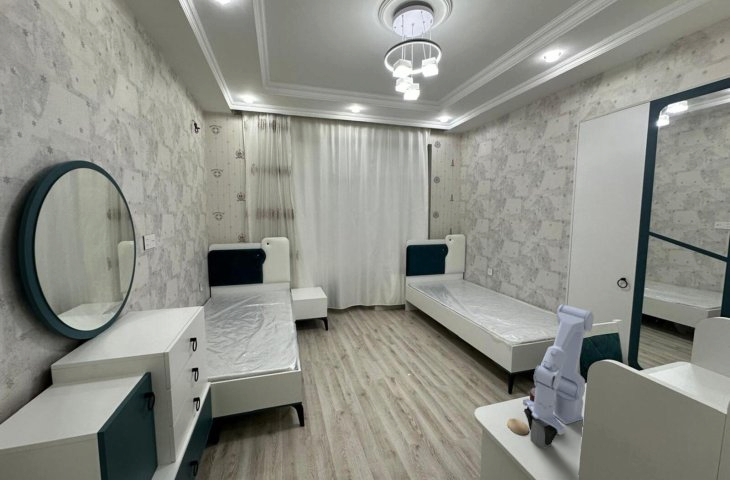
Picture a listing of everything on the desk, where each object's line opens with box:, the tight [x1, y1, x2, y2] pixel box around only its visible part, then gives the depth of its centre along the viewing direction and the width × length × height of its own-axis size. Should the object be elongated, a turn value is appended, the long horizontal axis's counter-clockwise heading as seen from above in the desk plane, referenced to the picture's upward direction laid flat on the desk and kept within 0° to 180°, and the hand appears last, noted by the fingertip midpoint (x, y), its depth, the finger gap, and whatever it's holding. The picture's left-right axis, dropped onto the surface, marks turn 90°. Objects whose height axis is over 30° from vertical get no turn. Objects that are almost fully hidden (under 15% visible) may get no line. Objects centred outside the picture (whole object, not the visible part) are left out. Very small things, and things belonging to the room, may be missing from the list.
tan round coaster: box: [506, 418, 530, 436], centre depth 106 cm, size 7×7×1 cm
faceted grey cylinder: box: [529, 417, 551, 449], centre depth 100 cm, size 6×6×7 cm
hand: (540, 436), depth 100 cm, fingers closed on faceted grey cylinder, 6 cm apart
